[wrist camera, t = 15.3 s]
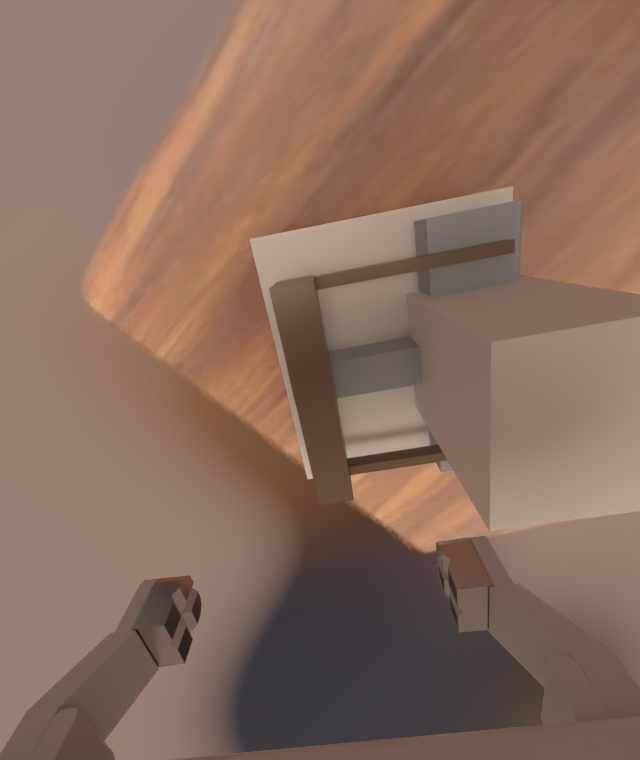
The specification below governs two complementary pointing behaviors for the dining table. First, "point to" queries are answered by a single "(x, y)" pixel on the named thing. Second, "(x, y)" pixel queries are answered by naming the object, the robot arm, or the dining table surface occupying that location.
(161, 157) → the dining table surface
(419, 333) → the pillar on square base
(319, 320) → the glasses frame
